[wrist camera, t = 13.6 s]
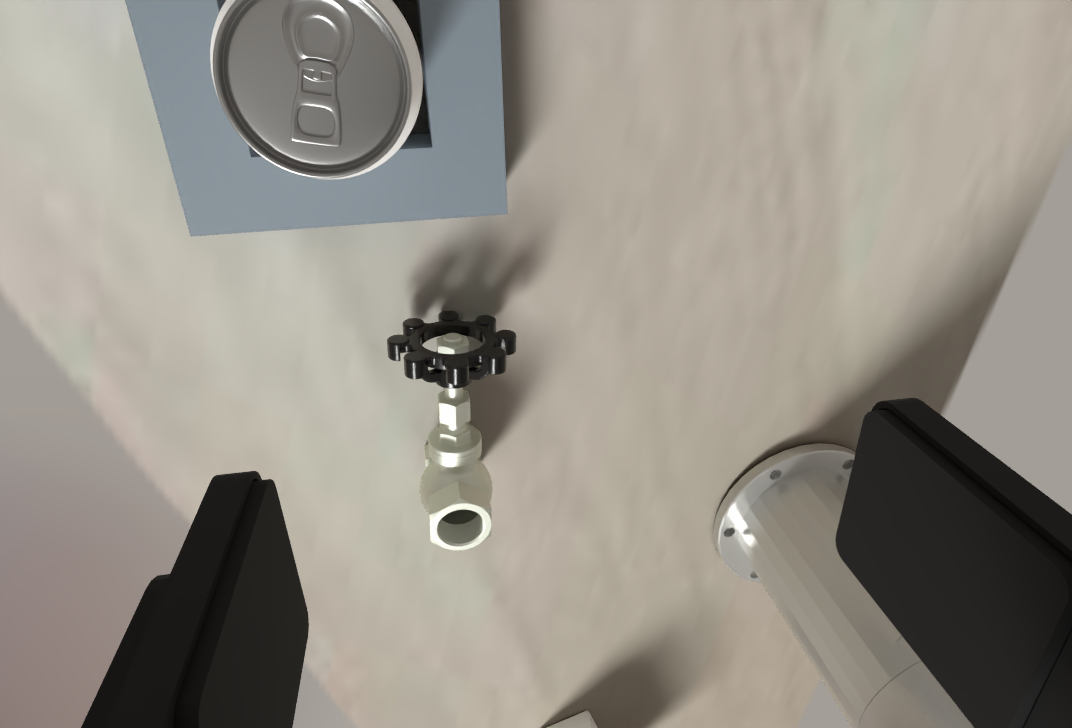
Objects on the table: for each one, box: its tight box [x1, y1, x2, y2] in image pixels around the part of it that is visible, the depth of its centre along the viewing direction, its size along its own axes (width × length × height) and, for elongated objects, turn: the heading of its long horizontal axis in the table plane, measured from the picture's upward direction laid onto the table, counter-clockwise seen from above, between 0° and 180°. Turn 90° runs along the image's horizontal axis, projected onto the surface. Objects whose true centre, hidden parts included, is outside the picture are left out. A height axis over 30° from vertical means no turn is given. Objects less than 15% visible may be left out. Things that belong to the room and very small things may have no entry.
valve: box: [387, 311, 516, 551], centre depth 37 cm, size 7×7×12 cm
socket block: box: [125, 0, 507, 236], centre depth 28 cm, size 14×14×4 cm
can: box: [210, 0, 423, 179], centre depth 25 cm, size 6×6×12 cm
